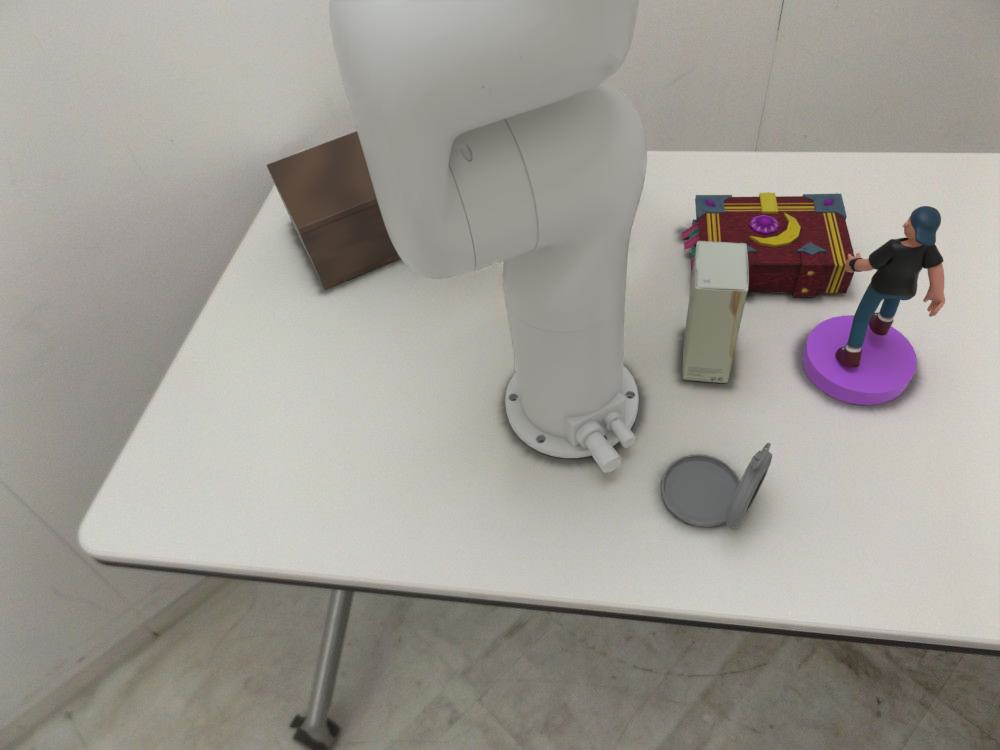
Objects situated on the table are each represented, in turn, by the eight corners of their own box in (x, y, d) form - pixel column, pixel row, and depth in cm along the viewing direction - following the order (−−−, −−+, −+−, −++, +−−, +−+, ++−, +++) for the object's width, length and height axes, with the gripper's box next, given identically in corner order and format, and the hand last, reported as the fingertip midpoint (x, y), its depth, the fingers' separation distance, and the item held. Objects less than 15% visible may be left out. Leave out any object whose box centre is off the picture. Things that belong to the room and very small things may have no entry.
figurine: (899, 330, 67) (978, 173, 53) (919, 408, 61) (1013, 256, 47) (797, 326, 68) (847, 173, 54) (807, 401, 63) (866, 253, 49)
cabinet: (397, 183, 91) (379, 122, 84) (438, 242, 83) (422, 179, 76) (293, 224, 88) (266, 164, 81) (324, 290, 80) (297, 229, 73)
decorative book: (847, 299, 70) (861, 262, 66) (683, 296, 73) (688, 261, 69) (830, 225, 77) (842, 188, 73) (681, 226, 80) (685, 190, 76)
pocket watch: (656, 461, 61) (664, 394, 53) (754, 458, 60) (777, 389, 52) (667, 548, 56) (678, 488, 48) (774, 546, 55) (803, 485, 47)
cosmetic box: (728, 385, 65) (749, 293, 56) (681, 381, 66) (694, 290, 56) (728, 334, 69) (748, 240, 59) (684, 331, 70) (696, 238, 60)
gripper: (342, 40, 65) (389, 196, 79) (506, -14, 68) (523, 145, 82) (321, 12, 70) (369, 164, 83) (476, -37, 73) (497, 117, 87)
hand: (445, 154), depth 83 cm, fingers open, 6 cm apart
